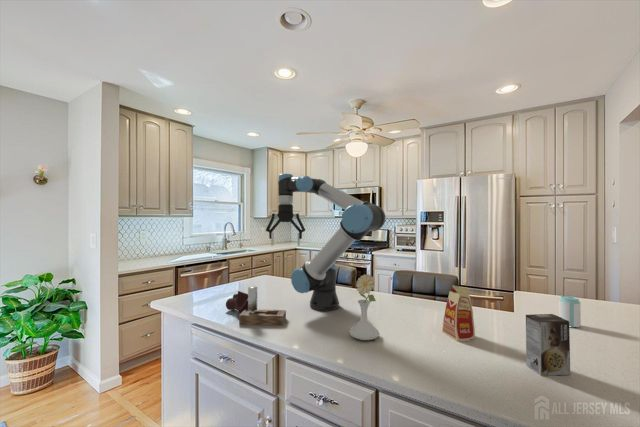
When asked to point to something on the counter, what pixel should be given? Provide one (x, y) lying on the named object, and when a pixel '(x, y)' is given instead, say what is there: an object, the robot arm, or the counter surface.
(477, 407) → the counter surface
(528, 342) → the grey cardboard box
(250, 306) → the steel peg
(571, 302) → the can
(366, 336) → the flower in vase
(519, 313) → the counter surface
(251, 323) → the keyhole block
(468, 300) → the milk carton
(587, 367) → the counter surface
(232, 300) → the dark brown lumpy piece
